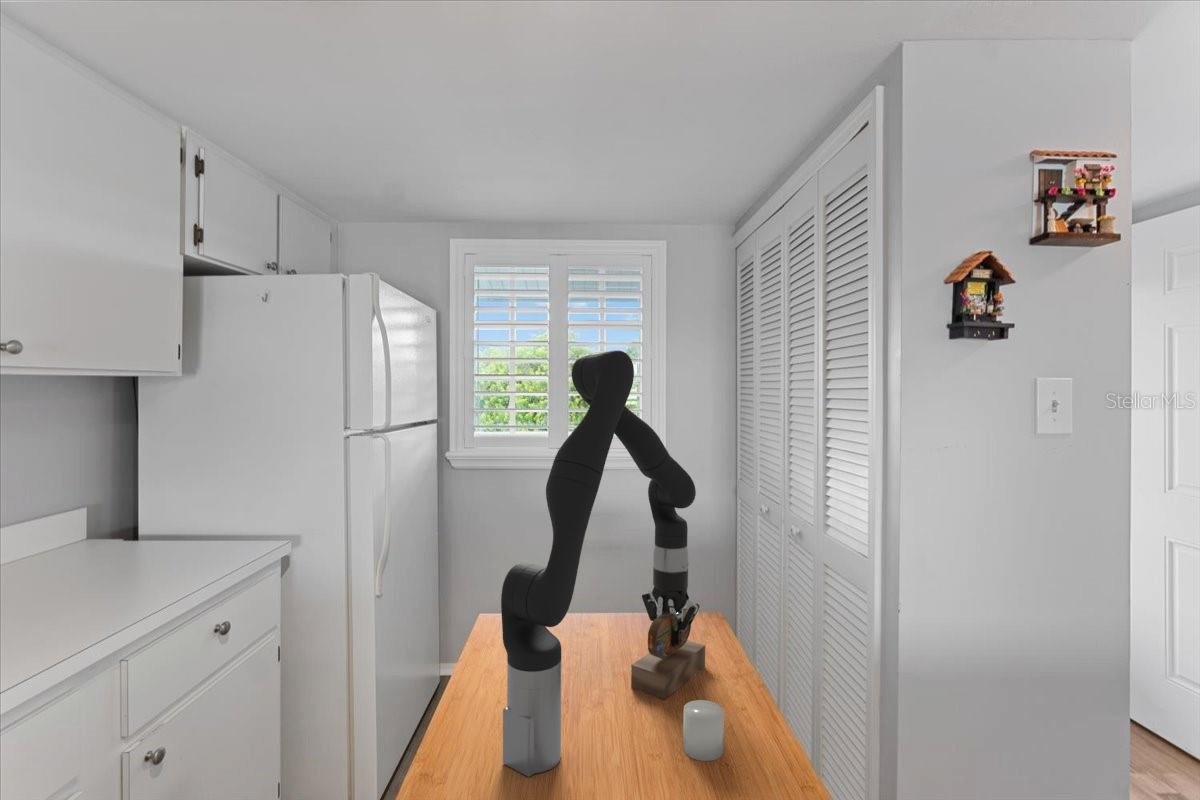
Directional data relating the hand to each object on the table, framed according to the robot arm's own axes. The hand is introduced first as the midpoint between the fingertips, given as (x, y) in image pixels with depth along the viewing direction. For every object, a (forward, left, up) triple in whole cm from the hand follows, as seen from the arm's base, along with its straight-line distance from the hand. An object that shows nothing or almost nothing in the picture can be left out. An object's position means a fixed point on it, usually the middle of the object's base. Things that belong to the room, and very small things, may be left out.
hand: (669, 643), depth 136 cm
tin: (0, 0, -2) cm, 2 cm away
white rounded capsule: (-19, -18, -8) cm, 27 cm away
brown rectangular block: (0, 0, -8) cm, 8 cm away
